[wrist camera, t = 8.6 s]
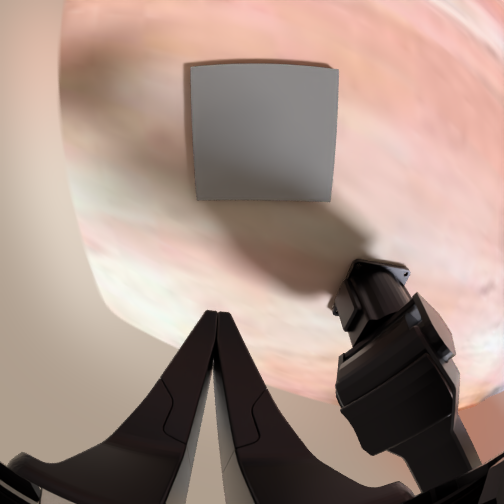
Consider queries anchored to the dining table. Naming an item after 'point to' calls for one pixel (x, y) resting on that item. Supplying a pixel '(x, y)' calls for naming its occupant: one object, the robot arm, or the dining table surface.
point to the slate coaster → (264, 131)
